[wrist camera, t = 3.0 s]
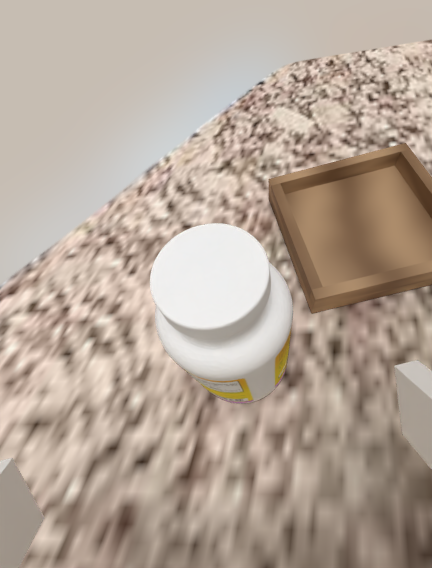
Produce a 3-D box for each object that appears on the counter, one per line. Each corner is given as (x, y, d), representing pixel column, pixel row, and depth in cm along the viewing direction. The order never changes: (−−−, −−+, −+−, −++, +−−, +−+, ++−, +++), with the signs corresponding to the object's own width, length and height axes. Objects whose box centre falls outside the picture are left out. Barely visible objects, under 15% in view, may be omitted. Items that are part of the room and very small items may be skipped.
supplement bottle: (258, 301, 25) (246, 179, 14) (305, 377, 22) (338, 299, 11) (182, 339, 24) (106, 246, 13) (219, 423, 21) (158, 393, 10)
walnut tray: (395, 166, 29) (405, 142, 27) (471, 275, 23) (492, 256, 21) (268, 199, 30) (268, 179, 27) (311, 313, 24) (315, 299, 22)
